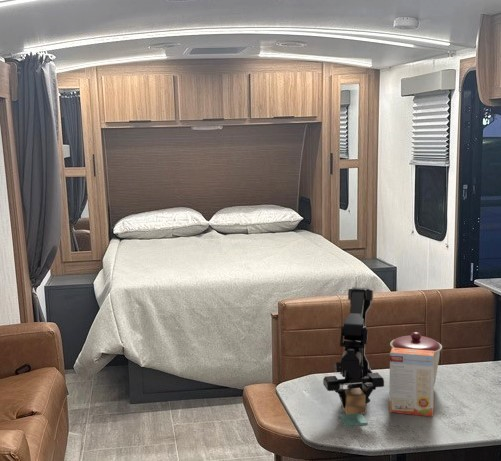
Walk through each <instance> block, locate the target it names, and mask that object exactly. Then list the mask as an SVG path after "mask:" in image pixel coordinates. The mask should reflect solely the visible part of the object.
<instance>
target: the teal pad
mask: <svg viewBox="0 0 501 461" xmlns="http://www.w3.org/2000/svg"><path fill="white" fill-rule="evenodd" d="M338 416H339V418H340V420H341V421H342V422H343V424H344V426H345V427H353V426H364V425H368V424H369V423H368V421H367V419H366V418H365V417H364V416H363V413H360V414H348V415H347V414H346V413H345V414H343V413H342V414H339V415H338Z"/></svg>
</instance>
